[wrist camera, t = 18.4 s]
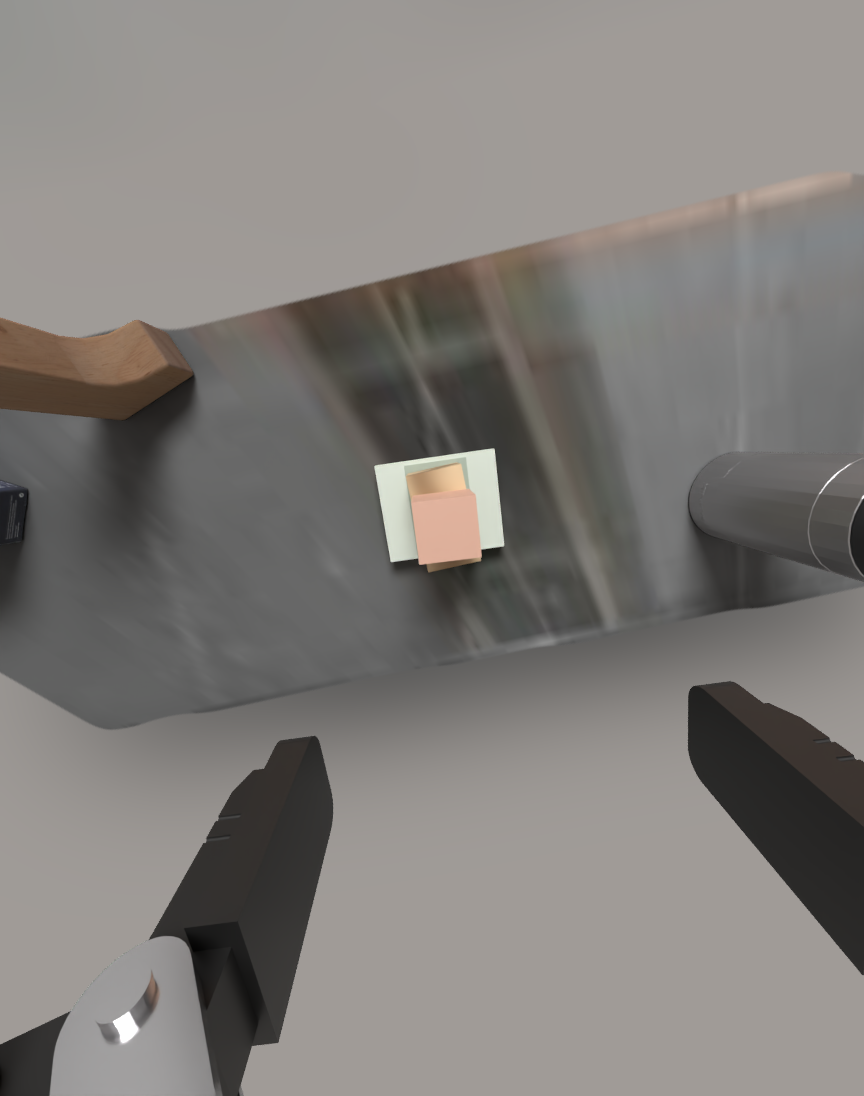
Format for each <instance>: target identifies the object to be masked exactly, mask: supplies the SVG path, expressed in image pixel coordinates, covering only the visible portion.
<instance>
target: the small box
mask: <svg viewBox="0 0 864 1096" xmlns="http://www.w3.org/2000/svg"><path fill="white" fill-rule="evenodd" d="M26 505H27V489H26V488H24V487H21V486H18V485H14V484H11V483H8V482H5V481H2V480H0V545H5V544H11V543H17V542H21V541H22V535H23V534H22V532H23V524H24V516H25V509H26Z"/></svg>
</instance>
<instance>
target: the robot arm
mask: <svg viewBox="0 0 864 1096" xmlns="http://www.w3.org/2000/svg"><path fill="white" fill-rule="evenodd" d="M689 508H690V513H691V516H692V519H693V520H694V522H695V524H696V525H697V526H698V527H699V528H700V529H701V530H702V531H703V532H705V533H707V534H708V535H710V536H713V537H717V538H720V539H723V540H726V541H730V542H733V543H736V544H739V545H742V546H745V547H749V548H752V549H755V550H759V551H762V552H765V553H769V554H772V555H775V556H779V557H782V558H785V559H788V560H792V561H795V562H798V563H802V564H805V565H808V566H812V567H815V568H818V569H822V570H825V571H828V572H831V573H835V574H838V575H842V576H845V577H849V578H852V579H855V580H859V581H862V582H864V453H774V452H735V453H728V454H726V455H723V456H720V457H718V458H716V459H715V460H713V461H711V462H710V463H709V464H708V465H707V466H705V467H704V468H703V469H702V471H701V472H700V473H699V474H698V476H697V477H696V479H695V481H694V483H693V485H692V488H691V491H690V497H689ZM688 751H689V756H690V760H691V763H692V765H693V768H694V770H695V772H696V774H697V776H698V777H699V779H700V780H701V782H702V783H703V784H704V785H705V787H706V788H707V789H708V790H709V791H710V793H711V794H712V795H713V796H714V797H715V799H716V800H717V801H718V802H719V803H720V804H721V806H722V807H723V808H724V809H725V810H726V812H727V813H728V814H729V815H730V816H731V818H732V819H733V820H734V821H735V823H736V824H737V825H738V826H739V827H740V829H741V830H742V831H743V832H744V833H745V835H746V836H747V837H748V838H749V839H750V841H751V842H752V843H753V844H754V845H755V847H756V848H757V849H758V850H759V851H760V853H761V854H762V855H763V856H764V857H765V858H766V860H767V861H768V862H769V863H770V865H771V866H772V867H773V868H774V869H775V870H776V872H777V873H778V874H779V875H780V877H781V878H782V879H783V880H784V881H785V883H786V884H787V885H788V886H789V887H790V889H791V890H792V891H793V892H794V893H795V895H796V896H797V897H798V898H799V899H800V901H801V902H802V903H803V904H804V905H805V907H806V908H807V909H808V910H809V911H810V913H811V914H812V915H813V916H814V917H815V919H816V920H817V921H818V922H819V923H820V925H821V926H822V927H823V928H824V929H825V931H826V932H827V933H828V934H829V935H830V936H831V938H832V939H833V940H834V941H835V943H836V944H837V945H838V946H839V947H840V949H841V950H842V951H843V952H844V953H845V955H846V956H847V957H848V958H849V959H850V961H851V962H852V963H853V964H854V965H855V967H856V968H857V969H858V970H859V971H860V973H861V974H862V975H864V762H863V761H861V760H856V759H855V758H854V755H853V754H851V753H850V752H849V751H847V750H846V749H844V748H843V747H842V746H840V745H839V744H837V743H836V742H831V741H830V739H829V737H828V736H826V735H825V734H823V733H822V732H821V731H819V730H818V729H816V728H815V727H814V726H812V725H811V724H809V723H808V722H806V721H805V720H804V719H802V718H800V717H798V716H796V715H794V714H792V713H789V712H787V711H785V710H783V709H780V708H778V707H776V706H774V705H772V704H769V703H765V704H764V703H762V702H761V701H760V700H758V699H757V698H756V697H754V696H753V695H751V694H750V693H749V692H748V691H746V690H745V689H744V688H742V687H741V686H740V685H738V684H736V683H734V682H730V681H729V682H721V683H714V684H706V685H699V686H693V687H692V688H691V689H690V691H689V696H688ZM332 819H333V799H332V793H331V789H330V784H329V780H328V776H327V772H326V767H325V763H324V759H323V755H322V751H321V746H320V743H319V740H318V738H317V737H316V736H310V737H303V738H296V739H288V740H281V741H279V742H278V743H277V745H276V746H275V748H274V750H273V752H272V754H271V756H270V758H269V760H268V763H267V764H266V766H265V768H264V769H259V770H254V771H252V772H251V773H250V774H249V775H248V776H247V777H246V779H245V780H243V782H241V784H240V785H239V786H238V787H237V788H236V789H235V790H234V791H233V792H232V793H231V795H230V797H229V799H228V800H227V802H226V804H225V806H224V808H223V809H222V811H221V813H220V815H219V819H218V821H216V822H215V823H214V825H213V827H212V829H211V831H210V832H209V834H208V836H207V841H206V843H203V845H202V847H201V848H200V850H199V852H198V854H197V855H196V857H195V859H194V861H193V863H192V864H191V866H190V868H189V870H188V871H187V873H186V875H185V877H184V879H183V880H182V882H181V884H180V886H179V887H178V889H177V891H176V893H175V895H174V896H173V898H172V900H171V902H170V903H169V905H168V907H167V909H166V910H165V912H164V914H163V916H162V918H161V919H160V921H159V923H158V925H157V926H156V928H155V930H154V932H153V934H152V935H151V937H150V939H149V940H147V941H145V942H143V943H141V944H139V945H137V946H135V947H134V948H132V949H130V950H129V951H127V952H126V953H124V954H123V955H122V956H120V957H119V958H118V959H116V960H115V961H114V962H113V963H111V964H110V965H109V966H108V967H107V968H106V969H105V970H104V971H103V972H102V973H101V974H100V975H99V976H98V977H97V978H96V979H95V980H94V981H93V982H92V983H91V984H90V986H89V987H88V988H87V989H86V990H85V991H84V993H83V994H82V996H81V997H80V998H79V1000H78V1001H77V1002H76V1004H75V1005H74V1007H73V1009H72V1011H70V1012H68V1013H66V1014H64V1015H62V1016H60V1017H58V1018H55V1019H54V1020H51V1021H49V1022H47V1023H45V1024H43V1025H41V1026H39V1027H37V1028H35V1029H32V1030H30V1031H28V1032H26V1033H24V1034H22V1035H20V1036H17V1037H15V1038H13V1039H11V1040H9V1041H7V1042H5V1043H3V1044H0V1096H244V1095H243V1091H242V1088H241V1082H242V1078H243V1075H244V1071H245V1068H246V1064H247V1061H248V1057H249V1054H250V1050H251V1047H252V1046H255V1045H264V1044H272V1043H278V1042H279V1037H280V1034H281V1030H282V1026H283V1021H284V1017H285V1013H286V1009H287V1005H288V1001H289V997H290V993H291V989H292V985H293V981H294V977H295V973H296V969H297V964H298V961H299V957H300V953H301V949H302V945H303V941H304V936H305V932H306V929H307V924H308V920H309V916H310V912H311V908H312V904H313V900H314V896H315V892H316V888H317V884H318V880H319V876H320V872H321V868H322V864H323V860H324V856H325V852H326V848H327V844H328V840H329V836H330V831H331V827H332Z"/></svg>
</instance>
